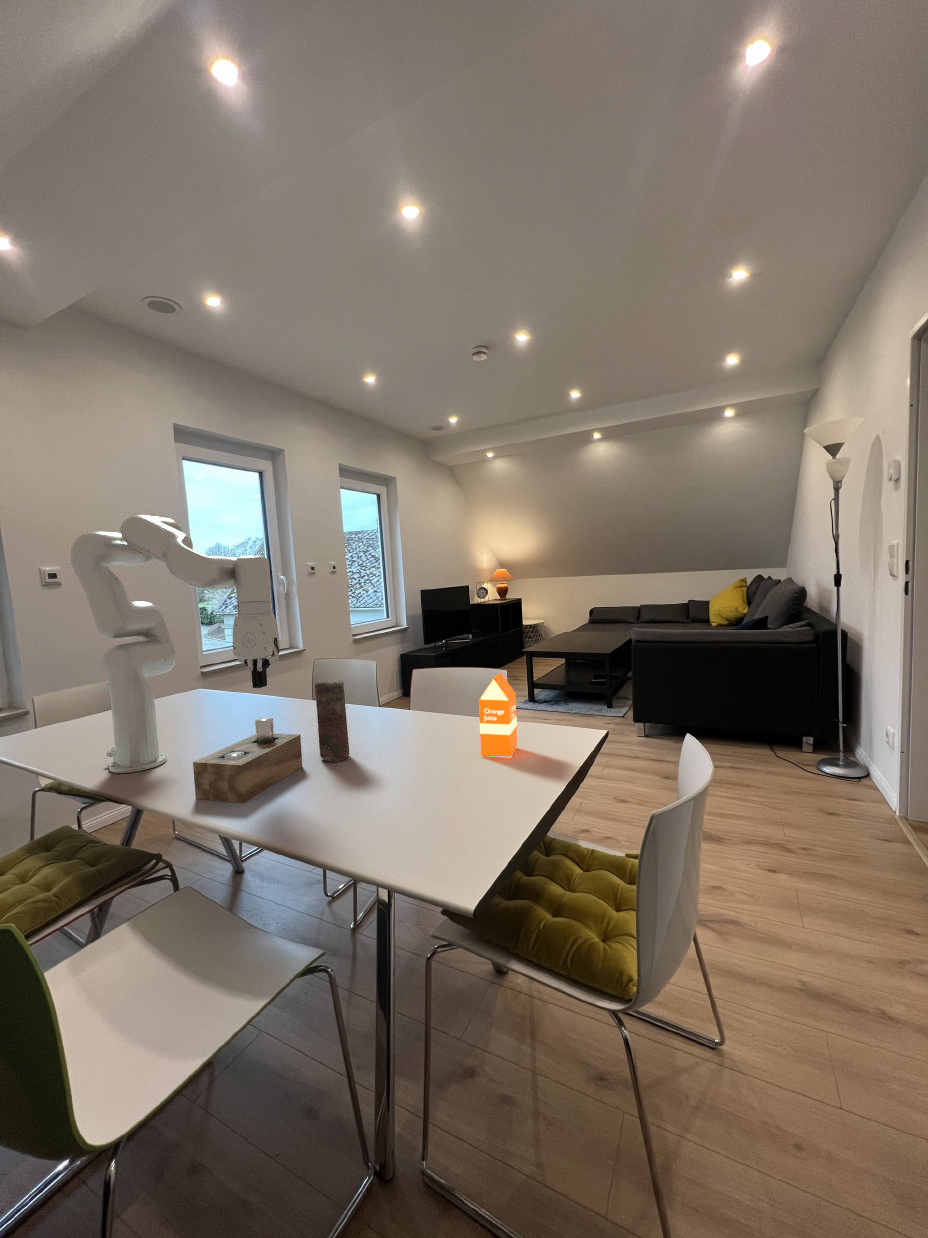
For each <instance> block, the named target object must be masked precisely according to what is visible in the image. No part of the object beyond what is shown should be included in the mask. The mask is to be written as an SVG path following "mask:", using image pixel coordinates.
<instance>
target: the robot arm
mask: <svg viewBox="0 0 928 1238" xmlns="http://www.w3.org/2000/svg"><path fill="white" fill-rule="evenodd" d="M119 529H120V530H119V532H114V531H113V532H112V531H89V532H86V533H81V534H80V535H79V536H78V537H77V538H75V540H74V541H73V544H72V546H71V550H70V563H71V567H72V570H73V572H74V575H75V576H76V578H77V580H78V582H79V583H80V585H81V588H82V589H83V591H84V594H85V596H86V599H87V603H88V605H89V608H90V611H91V613H92V617H93V620H94V622H95V625H96V627H97V630H98V632H99V634H100V636H101V637H102V638H104V639H106V640H110V641H117V640H118V641H120V640H128V639H135V638H137V639H138V641H133V642H126V643H120V644H117V645H114V646H113V647H111V648H108V650H107V651H106V652H105V654H104V655H103V658H102V669H103V672H104V675H105V678H106V682H107V686H108V691H109V696H110V706H111V707H110V708H111V715H112V716H111V719H112V728H113V730H112V731H113V739H114V747H111V748H110V751H108V752H106V757H108V758H112V760H113V761H112V762H111V763H110V764H109V766H108V768H109V771H110V772H111V773H115V774H129V773H135V772H141V771H145V770H150V769H153V768H156V767H158V766H160V765H162V764H164V763H165V762H166V761H167V755H166V754H165V753H161V752H160V750H159V747H160V746H159V737H158V736H159V735H158V725H157V712H156V711H157V709H156V699H155V693H154V690H153V689H152V686H151V685H150V684H149V682H148V681H147V680H146V679H147V678H150V677H153V676H159V675H162V674H165V673H169V671H171V670H172V669H173V668H174V667H175V665H176V661H177V660H176V659H177V654H176V650H175V647H174V642H173V640H172V637H171V634H170V632H169V629H168V625H167V622H166V620H165V616H164V615H163V613H162V611H161V610H160V609H159V608H158V606H156V605H155V604H154V603H151V602H148V601H132V600H130V598H129V595H128V594H127V592H126V587H125V585H124V583H123V582H122V580H121V578H119V577H118V576H117V575H116V573H114V572H113V571H112V570H111V569H110V566H111V567H140V566H145V565H148V564H150V563H151V562H154V561H155V560H158V561H160V562H161V563H163V564H165V567H166V569H168V571H169V573H170V574H171V575H172V576H173V577H175V578H177V579H178V580H180V581H182V582H184V583H187V584H189V585H190V586H193V587H195V588H198V589H202V590H231V589H232V590H233V589H235V591H236V592H235V594H236V595H235V596H236V604H235V605H234V611H237V615H235V616H234V620H233V626H232V652H233V657H235V658H237V662H238V663H240V664H244V665H245V666H246V667H247V668H248V671H249V672H251V682H252V688H253V689H261V688H264V687H267V686H268V676H267V675H268V673H267V670H268V669H270V666H271V665H272V664H274V663H279V661H280V656H279V655H280V653H281V643H280V635H279V627H278V624H277V619H276V616H275V614H273V606H272V605H273V604H272V603H273V602H272V590H271V589H272V588H271V573H270V561H269V560H268V558H267V557H265V556H261V555H248V556H247V555H246V556H244V555H243V556H239V557H232V556H231V557H229V556H216V555H215V556H213V555H212V556H211V555H209V556H208V555H203V554H201V553H199V552H197V551H195V550H193V549H194V544H193V541H192V539H191V537H190V536H189V535H188V534H186V533H184V532H183V529H182V528H181V525H179V523H177V522H176V521H174V520H173V519H171V518H167V517H160V516H152V515H145V514H136V515H135V514H134V515H131V516H129V517H127V518H125V520H123V521H122V523H121V525H120V528H119Z"/></svg>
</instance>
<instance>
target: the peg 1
mask: <svg viewBox="0 0 928 1238" xmlns="http://www.w3.org/2000/svg"><path fill="white" fill-rule="evenodd" d="M242 756H244V752H233V753H229V754H226V755H225V756H224V757H225V759H238V758H240V757H242Z"/></svg>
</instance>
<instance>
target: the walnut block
mask: <svg viewBox="0 0 928 1238" xmlns="http://www.w3.org/2000/svg"><path fill="white" fill-rule="evenodd" d="M301 739H302V737H301V734H293V733H274V741H272V742H270V743H268V744H265V743H257V741H256V733H255V734H253V735H251V736H248V737H245V738H243V739H241V740H239V741H237V742H234V743H232V744H230V745H229V746H226V747H223V748H221V749H219V750H216V751H214V752H212V753H210V754H208V755H205V756H203V757H200V758H198V759H197V760H194V761H193V762H192V768H193V780H194V795H195V796H194V797H195V800H204V801H205V800H206V801H217V802H227V803H228V802H230V803H241V804H244V803H246V802H248V801H250V799H252V798H254V797H256V796H257V795H259V794H261V793H262V792H264V791H266V790H267V789H269V788H270V787H271V786H273V785H274V784H276V783H278V782H280V781H282V780H283V779H284V778H286V777H288V776H289V775H291V774H292V773H294V772H296V771H297V770H299V769H301V768H303V757H302V755H303V754H302V740H301ZM233 752H244V756H242V757H240V758H238V759H225V757H224V756H225V755H226V754H229V753H233Z"/></svg>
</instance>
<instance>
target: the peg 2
mask: <svg viewBox="0 0 928 1238" xmlns="http://www.w3.org/2000/svg"><path fill="white" fill-rule="evenodd" d="M254 723H255V724H254V725H255V734H256V741H257V743H265V744H268V743H270V742H272V741H274V734H275V731H274V730H275V729H274V726H275V725H274V718H273V717H261V718H257V719H255V720H254Z"/></svg>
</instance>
